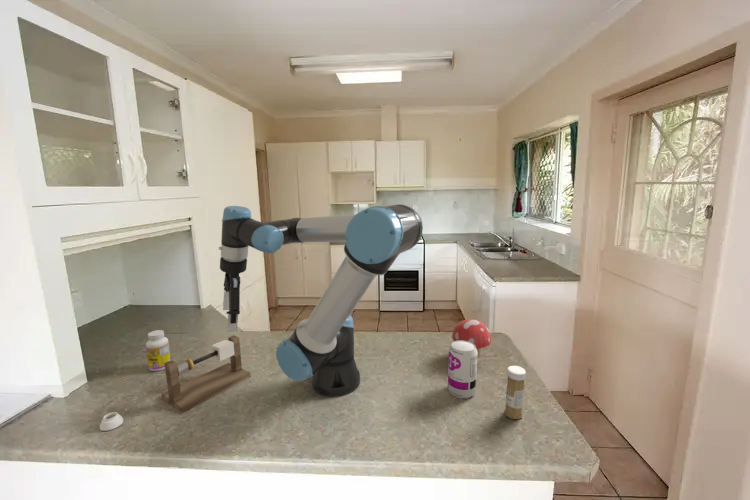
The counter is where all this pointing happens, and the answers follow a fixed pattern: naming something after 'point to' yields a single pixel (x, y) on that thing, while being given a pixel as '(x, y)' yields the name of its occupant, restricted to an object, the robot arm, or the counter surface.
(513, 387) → the sprinkles bottle
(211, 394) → the brown stand with rod
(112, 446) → the counter surface
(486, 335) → the decorative mushroom
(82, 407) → the counter surface
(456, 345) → the supplement can
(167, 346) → the supplement bottle
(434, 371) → the counter surface
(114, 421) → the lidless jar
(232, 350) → the sleeve
